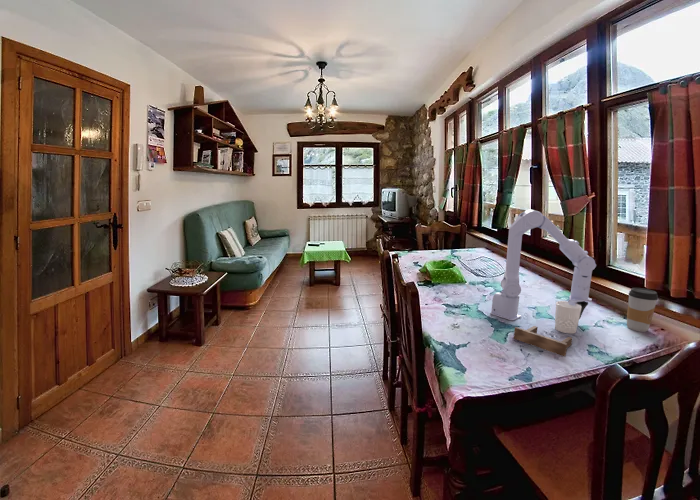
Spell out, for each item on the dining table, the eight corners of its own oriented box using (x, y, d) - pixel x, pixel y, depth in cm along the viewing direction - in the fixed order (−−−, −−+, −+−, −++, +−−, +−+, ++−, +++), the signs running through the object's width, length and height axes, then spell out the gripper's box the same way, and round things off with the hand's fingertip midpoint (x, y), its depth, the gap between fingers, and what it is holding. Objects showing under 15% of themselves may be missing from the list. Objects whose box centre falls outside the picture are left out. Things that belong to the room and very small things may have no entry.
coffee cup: (645, 334, 122) (652, 295, 119) (618, 326, 129) (625, 289, 126) (655, 330, 126) (663, 292, 123) (629, 322, 133) (635, 286, 130)
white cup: (553, 324, 131) (556, 299, 129) (578, 329, 126) (581, 303, 124) (552, 330, 124) (555, 305, 122) (577, 336, 120) (581, 309, 118)
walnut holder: (513, 338, 117) (514, 327, 116) (528, 330, 124) (529, 320, 123) (564, 356, 105) (565, 344, 104) (577, 346, 112) (579, 335, 111)
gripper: (586, 291, 121) (580, 326, 123) (599, 284, 130) (594, 318, 132) (564, 286, 126) (559, 320, 129) (578, 280, 135) (574, 312, 138)
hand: (575, 319), depth 131 cm, fingers closed
